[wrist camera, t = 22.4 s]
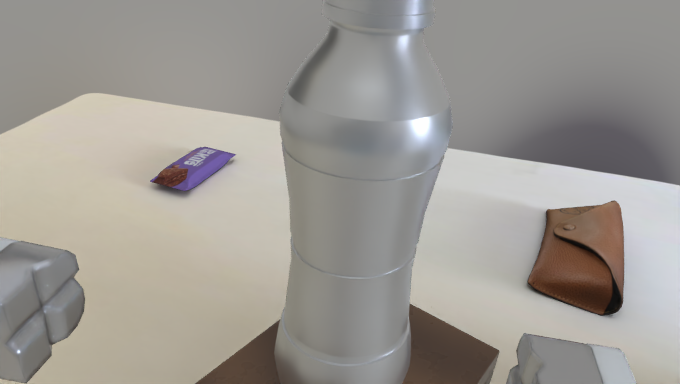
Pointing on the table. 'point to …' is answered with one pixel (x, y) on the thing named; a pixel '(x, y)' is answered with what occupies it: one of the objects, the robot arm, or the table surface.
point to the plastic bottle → (358, 191)
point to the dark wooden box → (425, 362)
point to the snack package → (192, 168)
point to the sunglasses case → (582, 258)
